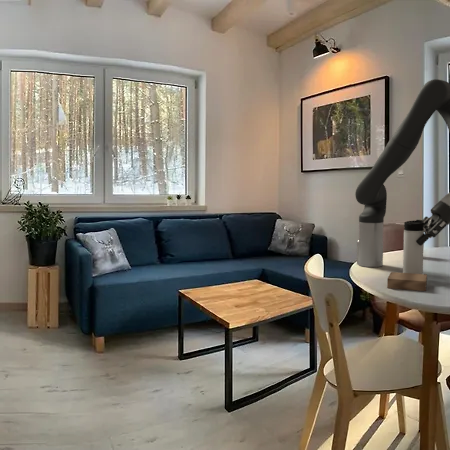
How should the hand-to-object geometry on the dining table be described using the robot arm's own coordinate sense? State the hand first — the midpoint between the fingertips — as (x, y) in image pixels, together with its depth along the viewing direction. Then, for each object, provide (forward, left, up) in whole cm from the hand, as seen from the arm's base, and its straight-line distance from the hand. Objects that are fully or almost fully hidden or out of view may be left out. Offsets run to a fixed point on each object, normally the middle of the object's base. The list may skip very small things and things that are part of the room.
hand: (413, 242), depth 155 cm
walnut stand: (+7, -10, -13) cm, 17 cm away
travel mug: (0, 0, -13) cm, 13 cm away
